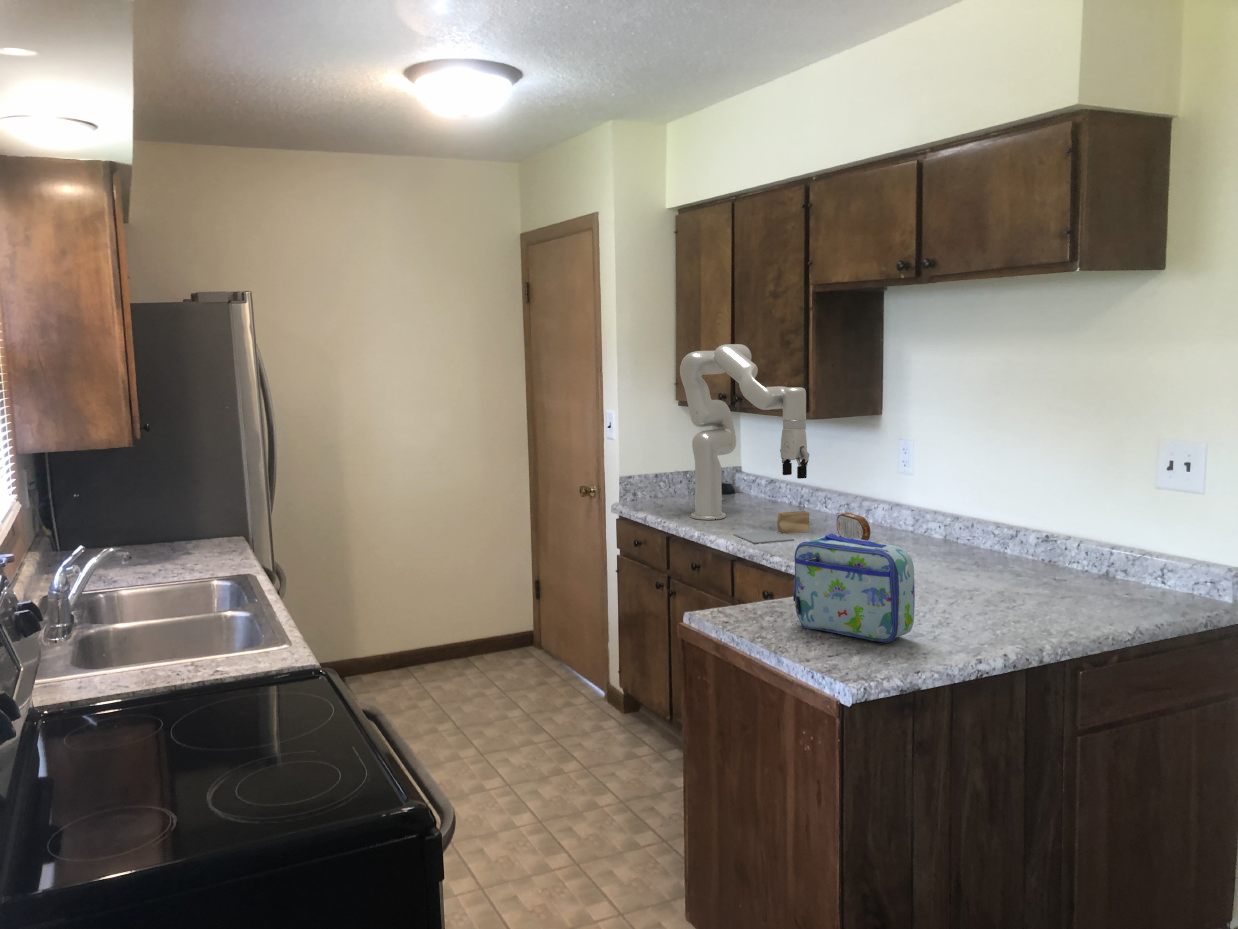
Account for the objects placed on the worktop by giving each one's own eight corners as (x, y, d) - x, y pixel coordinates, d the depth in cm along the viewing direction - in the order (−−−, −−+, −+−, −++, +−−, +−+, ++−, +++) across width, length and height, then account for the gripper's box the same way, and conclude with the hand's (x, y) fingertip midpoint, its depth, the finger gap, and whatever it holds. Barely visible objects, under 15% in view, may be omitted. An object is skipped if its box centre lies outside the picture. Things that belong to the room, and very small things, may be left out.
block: (777, 532, 320) (777, 512, 319) (803, 529, 323) (803, 510, 322) (782, 534, 316) (782, 514, 316) (808, 531, 320) (809, 512, 319)
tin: (871, 544, 298) (871, 518, 297) (862, 545, 297) (863, 518, 296) (842, 535, 312) (843, 510, 311) (834, 536, 311) (834, 511, 309)
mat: (733, 535, 315) (733, 533, 315) (771, 531, 319) (771, 530, 319) (754, 544, 301) (754, 542, 301) (794, 540, 305) (794, 538, 305)
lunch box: (786, 626, 214) (787, 534, 212) (814, 616, 222) (815, 527, 219) (891, 651, 196) (894, 551, 193) (917, 639, 203) (920, 542, 201)
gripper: (771, 423, 322) (771, 474, 324) (797, 427, 306) (797, 480, 308) (791, 422, 324) (791, 473, 326) (818, 426, 308) (818, 478, 310)
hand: (794, 476), depth 317 cm, fingers open, 9 cm apart
